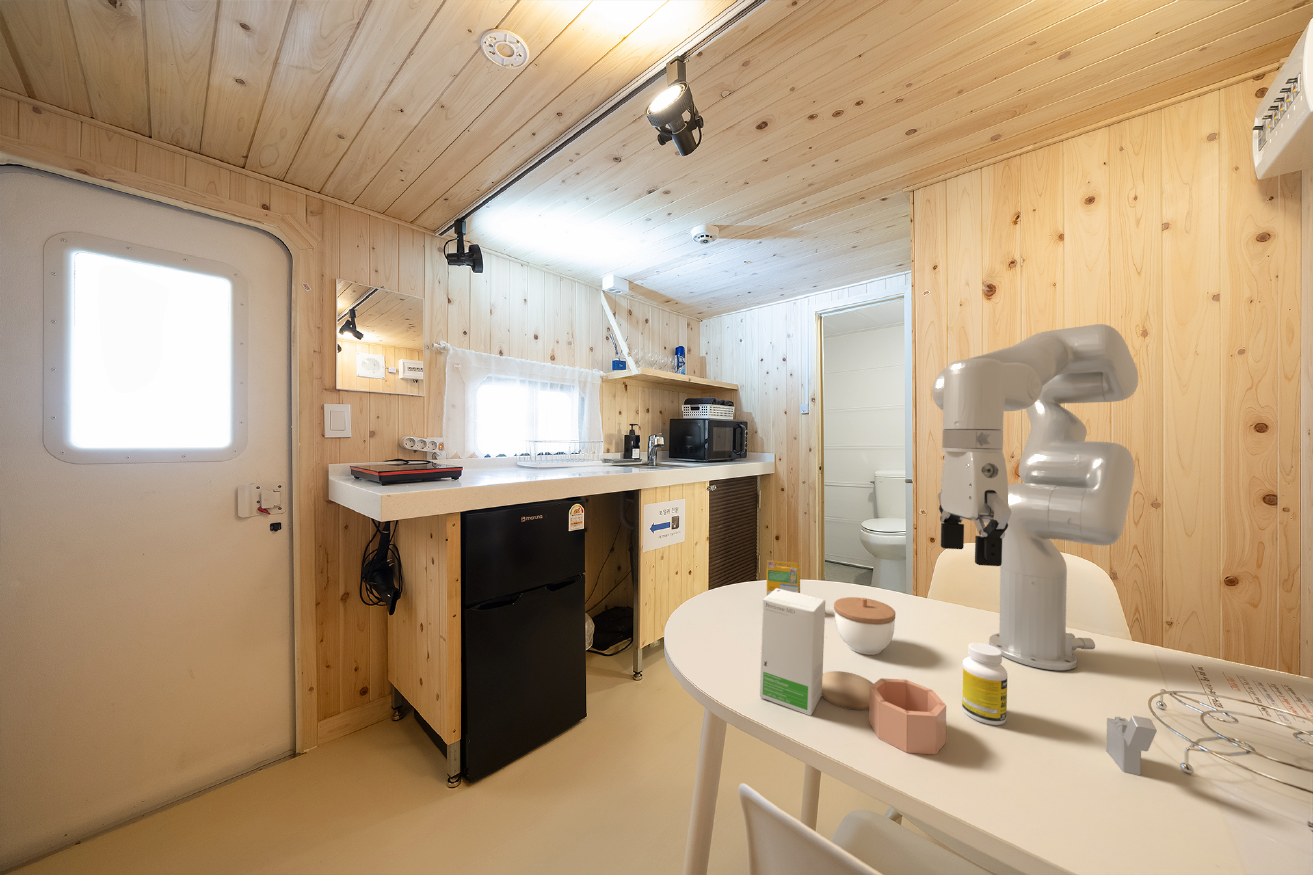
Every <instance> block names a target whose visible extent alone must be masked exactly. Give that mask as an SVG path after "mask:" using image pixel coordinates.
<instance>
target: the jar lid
mask: <svg viewBox="0 0 1313 875" xmlns="http://www.w3.org/2000/svg"><path fill="white" fill-rule="evenodd" d="M873 684H874V683H873V682H872V681H870V680H869V679H868V678H865V677H863V676H861V675H859V674H856V673H852V672H847V671H840V670H839V671H838V670H837V671H834V670H833V671H827V672H823V677H822V696H821V697H823V698H824V699H825V700H826V701H827V702H829V703H832V704H833V705H836V706H839V707H840V708H844V709H849V710H854V711H859V710H860V711H863V710H865V711H866V710H869V688H870V686H871V685H873Z"/></svg>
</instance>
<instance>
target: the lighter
mask: <svg viewBox="0 0 1313 875" xmlns="http://www.w3.org/2000/svg"><path fill="white" fill-rule="evenodd" d="M1157 731H1158V730H1157V728H1156V726H1155V724H1154V722H1153V721H1152V719H1151V718H1149V717H1148V718H1147V717H1143V716H1138V715H1131V716H1130V718H1129V720H1128V719H1127V718H1124V717H1121V716H1114V718H1111V717H1110V718H1109V717H1107V718H1106V748H1105V749H1106V752H1107V754H1108V755H1109V757H1111V759H1112V760H1113V761H1114V763H1115V764H1116V765H1117V766H1118V768H1119V769H1120V770H1121V772H1124V773H1125V774H1126V773H1127V774H1131V775H1136V776H1138V777H1139V776H1141V772H1142V770H1141V769H1142V765H1141V764H1142V752H1148V751H1149V750H1150V747H1151V745H1152V743H1153V741H1154V739H1155V736H1156V735H1157Z"/></svg>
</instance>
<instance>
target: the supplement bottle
mask: <svg viewBox="0 0 1313 875" xmlns="http://www.w3.org/2000/svg"><path fill="white" fill-rule="evenodd" d="M967 651H968V652H967V653H968V656H966V657H965V658H964V659H963V660H962V669H961V670H962V671H961V672H962V673H961V675H962V676H961V678H962V679H961V700H960V701H961V706H960V707H961V710H962V711H963V712H964V713H965V714H966V716H968V717H970V718H971V719H973V720H975V721H977V722H979V723H983V724H986V725H991V726H999V725H1000V726H1002V725H1004V724H1005V723H1006V721H1007V713H1008V712H1007V709H1008V707H1007V706H1008V702H1007V701H1008V671H1007V669H1006V668H1005V666H1004V665H1002V662H1003V656H1002V652H1001V651H1000V650H999V649H998V648H996V647H994V646H991V645H990V644H989V643H984V642H983V643H982V642H971V643H969V644H968V650H967Z"/></svg>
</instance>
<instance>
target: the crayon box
mask: <svg viewBox="0 0 1313 875" xmlns="http://www.w3.org/2000/svg"><path fill="white" fill-rule="evenodd" d="M782 564H783V565H785V566H779V565H782ZM776 588H778V589H782V590H786V591H790V592H797V593H801V568H800V563H799V562H789V561H781V560H780V561H779V560H778V561H777V560H772V559H771V560H768V559H767V560H766V596H768V595H769V594H770V593H771V592H772V591H774V590H775V589H776Z"/></svg>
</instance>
